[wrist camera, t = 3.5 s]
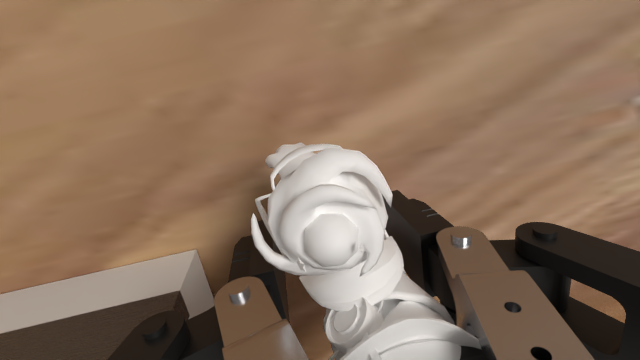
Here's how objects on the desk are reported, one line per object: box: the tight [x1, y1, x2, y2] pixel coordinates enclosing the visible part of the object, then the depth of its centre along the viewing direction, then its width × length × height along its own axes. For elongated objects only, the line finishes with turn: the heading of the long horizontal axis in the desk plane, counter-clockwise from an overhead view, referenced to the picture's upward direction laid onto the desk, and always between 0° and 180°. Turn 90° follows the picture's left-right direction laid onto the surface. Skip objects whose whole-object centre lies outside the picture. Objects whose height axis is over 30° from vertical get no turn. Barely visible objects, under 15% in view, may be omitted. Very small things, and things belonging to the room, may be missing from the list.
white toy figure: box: [251, 142, 481, 360], centre depth 9 cm, size 9×4×12 cm, turn 22°
